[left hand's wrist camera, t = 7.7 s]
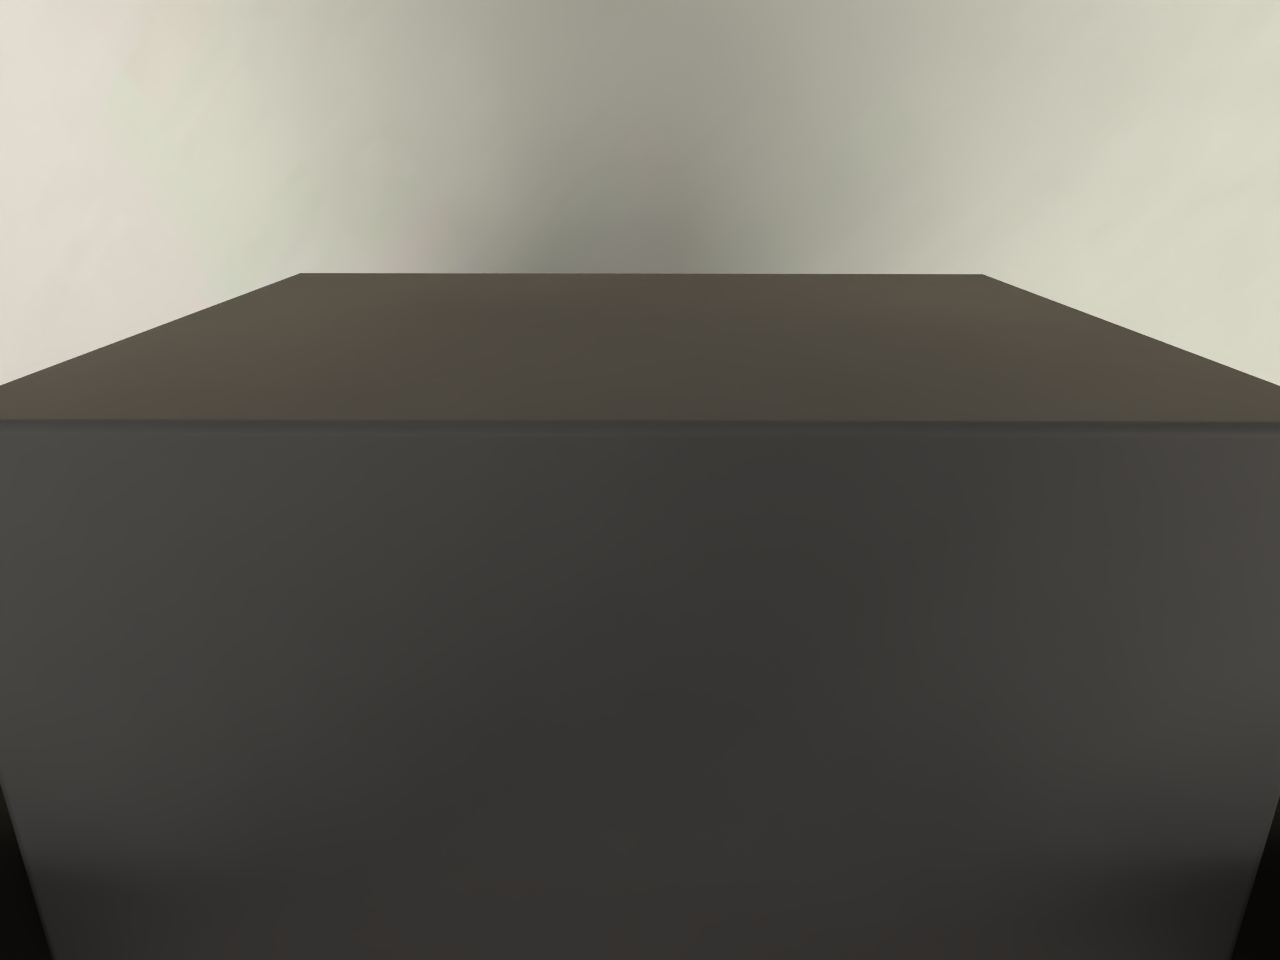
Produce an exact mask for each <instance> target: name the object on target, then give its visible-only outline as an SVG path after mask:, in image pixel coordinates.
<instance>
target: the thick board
mask: <svg viewBox="0 0 1280 960" xmlns="http://www.w3.org/2000/svg"><path fill="white" fill-rule="evenodd" d="M0 784H1V788H2V791H3V794H4V798H5V801H6V804H7V808H8V811H9V815H10V818H11V821H12V825H13V828H14V832H15V835H16V838H17V842H18V845H19V849H20V852H21V855H22V859H23V862H24V866H25V869H26V872H27V876H28V879H29V882H30V886H31V889H32V893H33V896H34V899H35V903H36V906H37V910H38V913H39V916H40V920H41V923H42V927H43V930H44V933H45V937H46V940H47V944H48V947H49V950H50V954H51V957H52V960H1231V957H1232V954H1233V950H1234V947H1235V944H1236V940H1237V937H1238V934H1239V930H1240V927H1241V924H1242V920H1243V917H1244V914H1245V910H1246V907H1247V904H1248V900H1249V897H1250V894H1251V890H1252V887H1253V884H1254V880H1255V877H1256V874H1257V870H1258V867H1259V864H1260V860H1261V857H1262V854H1263V850H1264V847H1265V844H1266V840H1267V837H1268V834H1269V830H1270V827H1271V824H1272V820H1273V817H1274V814H1275V810H1276V807H1277V804H1278V800H1279V797H1280V386H1278V385H1276V384H1273V383H1270V382H1268V381H1265V380H1262V379H1260V378H1257V377H1254V376H1252V375H1249V374H1246V373H1244V372H1241V371H1238V370H1236V369H1233V368H1230V367H1228V366H1225V365H1222V364H1220V363H1217V362H1214V361H1212V360H1209V359H1206V358H1204V357H1201V356H1198V355H1196V354H1193V353H1190V352H1188V351H1185V350H1182V349H1180V348H1177V347H1174V346H1172V345H1169V344H1166V343H1164V342H1161V341H1158V340H1156V339H1153V338H1151V337H1148V336H1145V335H1143V334H1140V333H1137V332H1135V331H1132V330H1129V329H1127V328H1124V327H1121V326H1119V325H1116V324H1113V323H1111V322H1108V321H1105V320H1103V319H1100V318H1097V317H1095V316H1092V315H1089V314H1087V313H1084V312H1081V311H1079V310H1076V309H1073V308H1071V307H1068V306H1065V305H1063V304H1060V303H1057V302H1055V301H1052V300H1049V299H1047V298H1044V297H1041V296H1039V295H1036V294H1033V293H1031V292H1028V291H1025V290H1023V289H1020V288H1017V287H1015V286H1012V285H1009V284H1007V283H1004V282H1002V281H999V280H996V279H994V278H991V277H988V276H986V275H983V274H417V273H300V274H297V275H295V276H292V277H289V278H287V279H284V280H281V281H279V282H276V283H273V284H270V285H268V286H265V287H262V288H260V289H257V290H254V291H252V292H249V293H246V294H244V295H241V296H238V297H236V298H233V299H230V300H228V301H225V302H222V303H220V304H217V305H214V306H212V307H209V308H206V309H204V310H201V311H198V312H196V313H193V314H190V315H188V316H185V317H182V318H180V319H177V320H174V321H172V322H169V323H166V324H164V325H161V326H158V327H156V328H153V329H150V330H148V331H145V332H142V333H140V334H137V335H134V336H132V337H129V338H126V339H124V340H121V341H118V342H116V343H113V344H110V345H108V346H105V347H102V348H100V349H97V350H94V351H91V352H89V353H86V354H83V355H81V356H78V357H75V358H73V359H70V360H67V361H65V362H62V363H59V364H57V365H54V366H51V367H49V368H46V369H43V370H41V371H38V372H35V373H33V374H30V375H27V376H25V377H22V378H19V379H17V380H14V381H11V382H9V383H6V384H3V385H1V386H0Z"/></svg>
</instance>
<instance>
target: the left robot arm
mask: <svg viewBox="0 0 1280 960" xmlns="http://www.w3.org/2000/svg"><path fill="white" fill-rule="evenodd" d="M0 960H52V957H51V954H50V950H49V947H48V944H47V940H46V937H45V933H44V930H43V927H42V923H41V920H40V916H39V913H38V910H37V906H36V903H35V899H34V896H33V893H32V889H31V886H30V882H29V879H28V876H27V872H26V869H25V866H24V862H23V859H22V855H21V852H20V849H19V845H18V842H17V838H16V835H15V832H14V828H13V825H12V821H11V818H10V815H9V811H8V808H7V804H6V801H5V798H4V794H3V791H2V788H1V784H0ZM1231 960H1280V797H1279V800H1278V804H1277V807H1276V810H1275V814H1274V817H1273V820H1272V824H1271V827H1270V830H1269V834H1268V837H1267V840H1266V844H1265V847H1264V850H1263V854H1262V857H1261V860H1260V864H1259V867H1258V870H1257V874H1256V877H1255V880H1254V884H1253V887H1252V890H1251V894H1250V897H1249V900H1248V904H1247V907H1246V910H1245V914H1244V917H1243V920H1242V924H1241V927H1240V930H1239V934H1238V937H1237V940H1236V944H1235V947H1234V950H1233V954H1232V957H1231Z"/></svg>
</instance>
